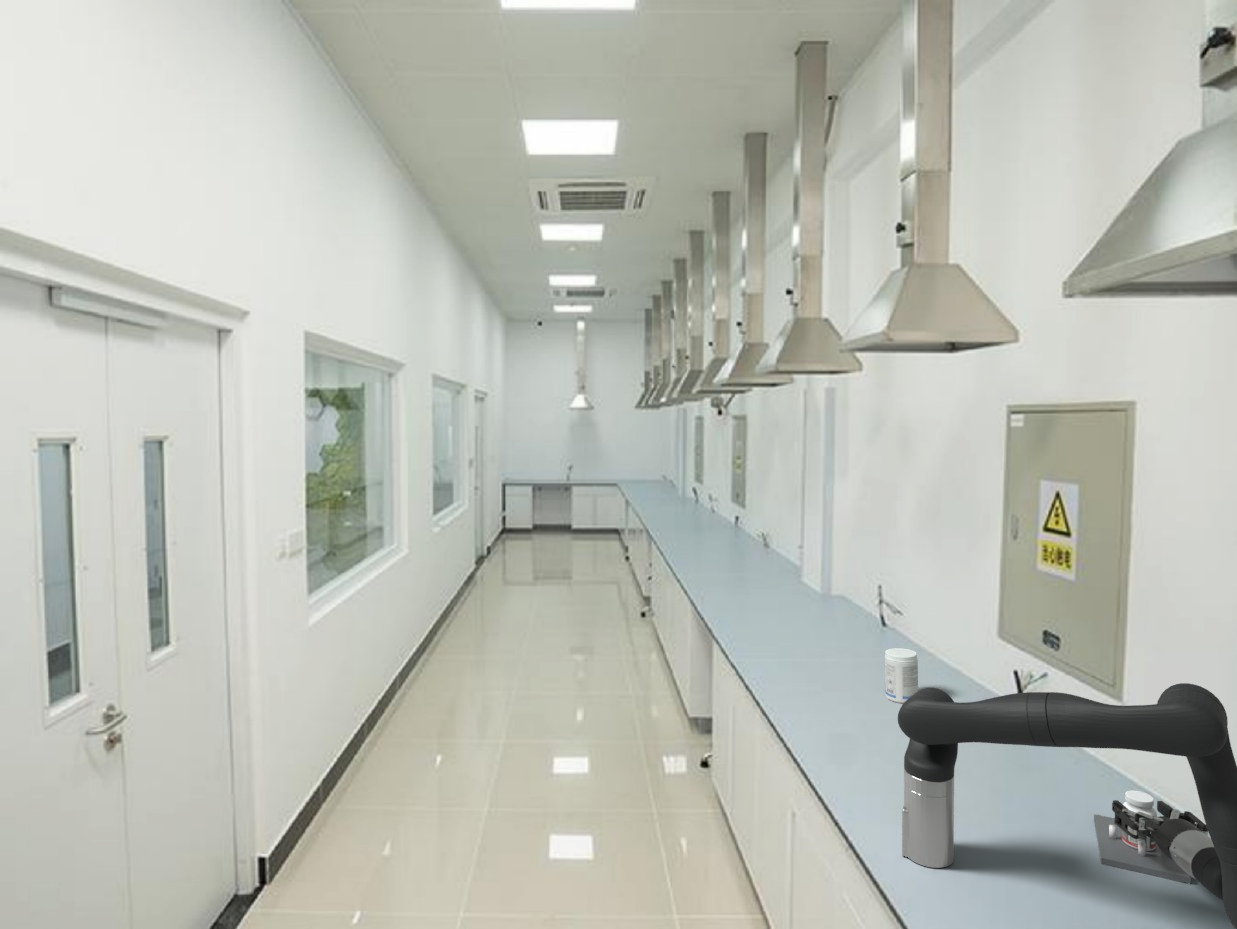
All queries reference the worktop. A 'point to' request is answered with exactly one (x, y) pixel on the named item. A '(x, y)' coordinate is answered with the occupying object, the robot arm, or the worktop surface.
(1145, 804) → the pill bottle
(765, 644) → the worktop surface
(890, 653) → the supplement tub
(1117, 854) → the grey pegged board
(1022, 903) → the worktop surface
